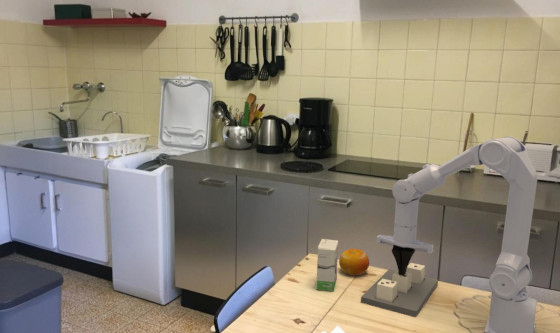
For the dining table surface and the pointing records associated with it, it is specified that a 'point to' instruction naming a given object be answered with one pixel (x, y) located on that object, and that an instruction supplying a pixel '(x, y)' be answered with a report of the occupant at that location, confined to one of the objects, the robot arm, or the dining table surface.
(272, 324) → the dining table surface
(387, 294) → the key three
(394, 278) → the key two
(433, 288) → the keypad board
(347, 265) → the fruit
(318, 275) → the ink box
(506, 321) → the robot arm
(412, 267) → the key one
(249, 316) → the dining table surface
